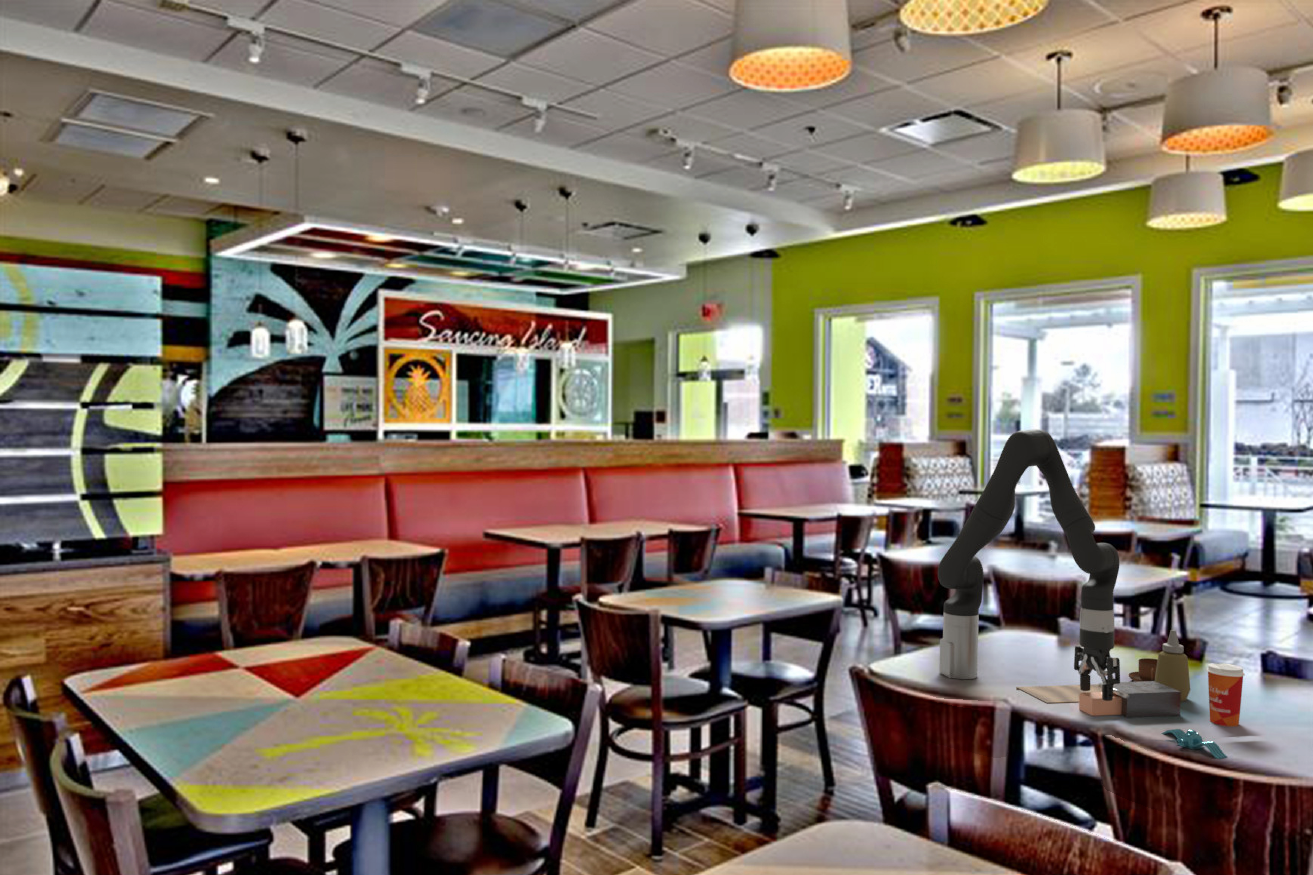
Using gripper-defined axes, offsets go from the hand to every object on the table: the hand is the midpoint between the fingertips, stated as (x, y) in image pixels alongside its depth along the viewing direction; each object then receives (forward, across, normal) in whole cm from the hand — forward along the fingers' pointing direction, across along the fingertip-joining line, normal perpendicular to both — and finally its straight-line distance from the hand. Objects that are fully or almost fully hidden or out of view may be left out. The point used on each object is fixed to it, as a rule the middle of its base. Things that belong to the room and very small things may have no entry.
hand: (1096, 695), depth 228 cm
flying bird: (+6, +22, +7) cm, 24 cm away
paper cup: (+6, +10, +26) cm, 28 cm away
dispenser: (+5, 0, +12) cm, 13 cm away
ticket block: (+4, 0, +6) cm, 8 cm away
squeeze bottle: (+5, -10, +28) cm, 30 cm away
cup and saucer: (+5, -26, +34) cm, 43 cm away
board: (+5, -15, +6) cm, 17 cm away
